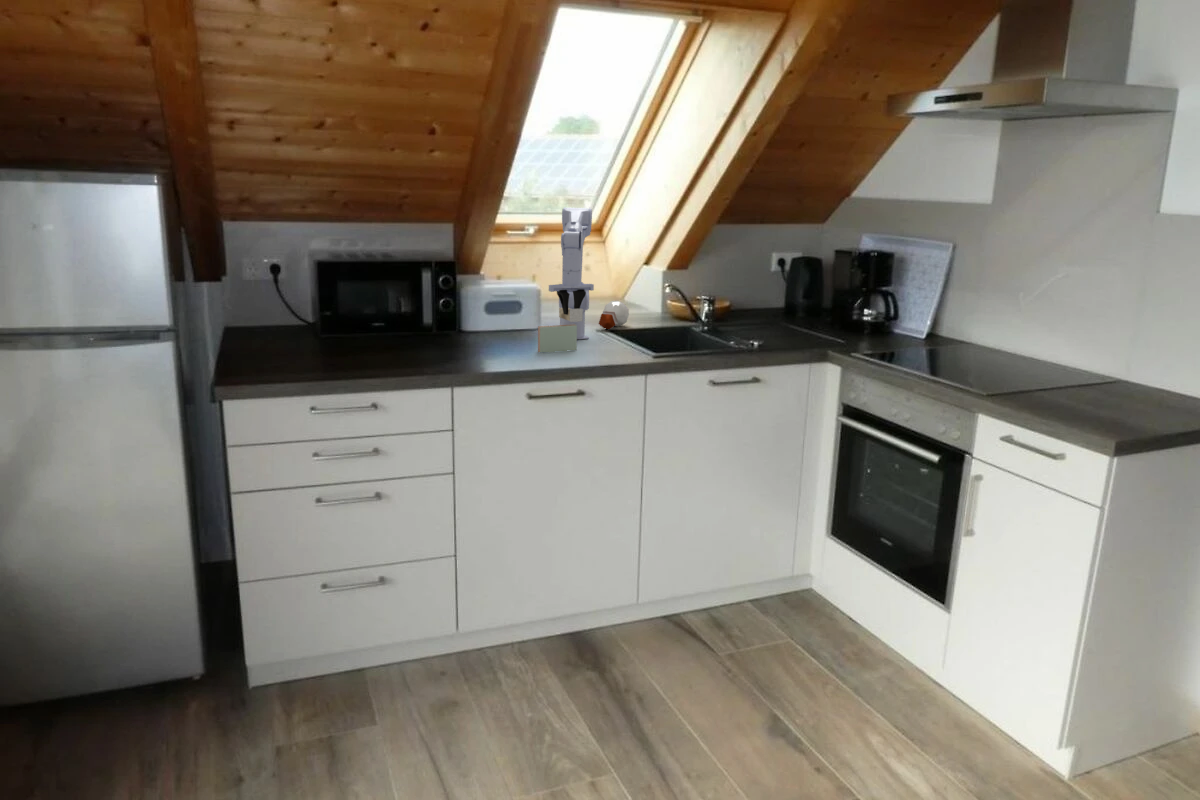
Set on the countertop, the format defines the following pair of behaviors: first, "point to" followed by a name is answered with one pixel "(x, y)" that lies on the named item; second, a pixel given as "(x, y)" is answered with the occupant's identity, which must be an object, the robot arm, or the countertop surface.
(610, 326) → the potion bottle
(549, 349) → the tile
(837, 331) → the countertop surface
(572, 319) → the capped square post
